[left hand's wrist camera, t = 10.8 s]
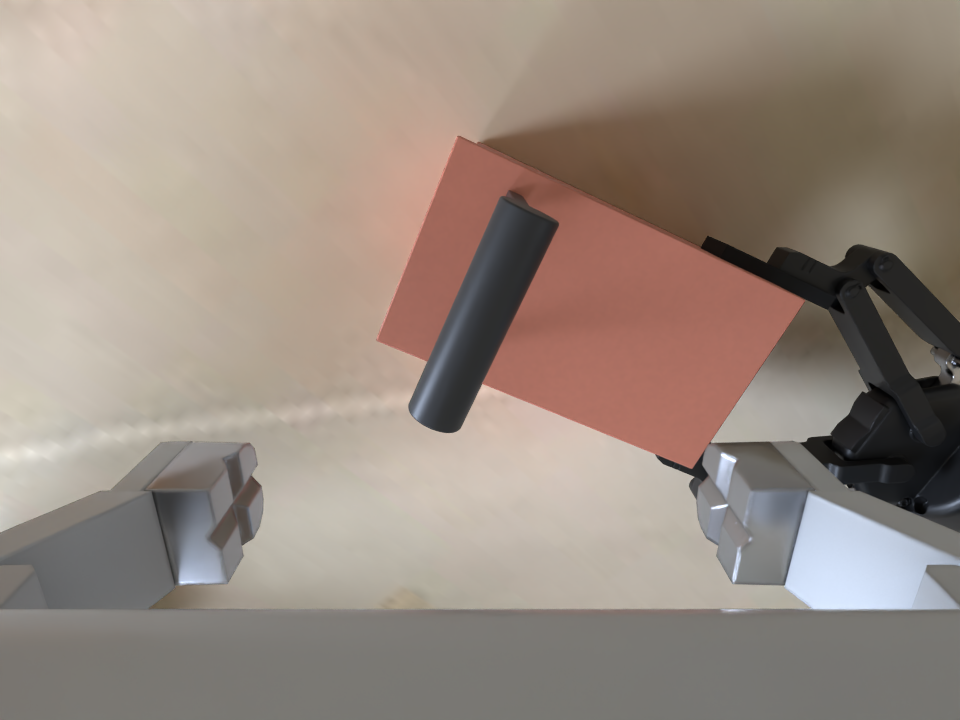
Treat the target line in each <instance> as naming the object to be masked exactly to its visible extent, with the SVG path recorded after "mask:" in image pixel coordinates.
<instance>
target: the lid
mask: <svg viewBox="0 0 960 720" xmlns="http://www.w3.org/2000/svg"><path fill="white" fill-rule="evenodd" d="M804 302H805V299H803V298H801V297H799V296H797V295H795V294H793V293H791V292H789V291H787V290H785V289H782V288H780V287H778V286H776V285H774V284H772V283H770V282H768V281H766V280H763V279H761V278H759V277H757V276H755V275H753V274H751V273H749V272H747V271H744V270H742V269H740V268H738V267H736V266H734V265H732V264H730V263H727V262H725V261H723V260H721V259H719V258H717V257H715V256H713V255H711V254H708V253H706V252H704V251H702V250H700V249H698V248H696V247H694V246H692V245H689V244H687V243H685V242H683V241H681V240H679V239H677V238H675V237H673V236H670V235H668V234H666V233H664V232H662V231H660V230H658V229H656V228H654V227H651V226H649V225H647V224H645V223H643V222H641V221H639V220H637V219H635V218H632V217H630V216H628V215H626V214H624V213H622V212H620V211H618V210H615V209H613V208H611V207H609V206H607V205H605V204H603V203H601V202H599V201H596V200H594V199H592V198H590V197H588V196H586V195H584V194H582V193H580V192H577V191H575V190H573V189H571V188H569V187H567V186H565V185H563V184H561V183H558V182H556V181H554V180H552V179H550V178H548V177H546V176H544V175H542V174H539V173H537V172H535V171H533V170H531V169H529V168H527V167H525V166H522V165H520V164H518V163H516V162H514V161H512V160H510V159H508V158H506V157H503V156H501V155H499V154H497V153H495V152H493V151H491V150H489V149H487V148H484V147H482V146H480V145H478V144H476V143H474V142H472V141H470V140H468V139H465V138H463V137H461V136H457V138H456V141H455V143H454V146H453V148H452V151H451V153H450V156H449V158H448V161H447V163H446V166H445V168H444V171H443V173H442V176H441V178H440V181H439V183H438V186H437V188H436V191H435V193H434V196H433V198H432V201H431V203H430V206H429V208H428V211H427V214H426V216H425V219H424V221H423V224H422V226H421V229H420V231H419V234H418V236H417V239H416V241H415V244H414V246H413V249H412V251H411V254H410V256H409V259H408V261H407V264H406V266H405V269H404V271H403V274H402V276H401V279H400V281H399V284H398V286H397V289H396V291H395V294H394V296H393V299H392V301H391V304H390V306H389V309H388V311H387V314H386V316H385V319H384V321H383V324H382V326H381V329H380V331H379V334H378V336H377V339H376V340H377V341H378V342H381V343H383V344H386V345H388V346H391V347H393V348H396V349H398V350H401V351H403V352H405V353H408V354H410V355H413V356H415V357H418V358H420V359H423V360H425V361H428V362H427V364H426V366H425V368H424V371H423V373H422V375H421V378H420V380H419V382H418V384H417V387H416V389H415V391H414V393H413V396H412V398H411V400H410V403H409V412H410V413H411V415H412V416H413V417H414V418H415V419H416V420H417V421H418V422H419V423H421V424H422V425H424V426H426V427H428V428H430V429H432V430H435V431H439V432H443V433H453V432H456V431H458V430H459V429H460V428H461V426H462V424H463V422H464V420H465V418H466V416H467V414H468V412H469V410H470V408H471V406H472V404H473V402H474V400H475V398H476V395H477V393H478V391H479V389H480V387H481V385H482V384H484V385H487V386H489V387H491V388H494V389H496V390H499V391H501V392H504V393H506V394H509V395H511V396H514V397H516V398H519V399H521V400H523V401H526V402H528V403H531V404H533V405H536V406H538V407H541V408H543V409H546V410H548V411H550V412H553V413H555V414H558V415H560V416H563V417H565V418H568V419H570V420H573V421H575V422H578V423H580V424H582V425H585V426H587V427H590V428H592V429H595V430H597V431H600V432H602V433H605V434H607V435H609V436H612V437H614V438H617V439H619V440H622V441H624V442H627V443H629V444H632V445H634V446H637V447H639V448H641V449H644V450H646V451H649V452H651V453H654V454H656V455H659V456H661V457H664V458H666V459H668V460H671V461H673V462H676V463H678V464H681V465H683V466H686V467H688V468H691V469H692V468H693V467H694V465H695V464H696V462H697V461H698V459H699V458H700V456H701V455H702V454H703V452H704V451H705V449H706V447H707V445H708V444H709V443H710V442H711V440H712V439H713V437H714V436H715V434H716V433H717V431H718V430H719V428H720V427H721V425H722V424H723V422H724V421H725V419H726V418H727V416H728V415H729V413H730V412H731V410H732V409H733V408H734V406H735V405H736V403H737V402H738V400H739V399H740V397H741V396H742V394H743V393H744V391H745V390H746V388H747V387H748V385H749V384H750V382H751V381H752V379H753V378H754V376H755V375H756V373H757V372H758V370H759V369H760V367H761V366H762V365H763V363H764V362H765V360H766V359H767V357H768V356H769V354H770V353H771V351H772V350H773V348H774V347H775V345H776V344H777V342H778V341H779V339H780V338H781V336H782V335H783V333H784V332H785V330H786V329H787V327H788V326H789V324H790V323H791V321H792V320H793V319H794V317H795V316H796V314H797V313H798V311H799V310H800V308H801V307H802V305H803V304H804Z"/></svg>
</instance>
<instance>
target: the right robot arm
mask: <svg viewBox="0 0 960 720" xmlns="http://www.w3.org/2000/svg"><path fill="white" fill-rule="evenodd" d="M701 249H703V250H705V251H707V252H709V253H711V254H713V255H715V256H717V257H719V258H721V259H723V260H725V261H727V262H729V263H731V264H733V265H735V266H737V267H740V268H742V269H744V270H746V271H748V272H750V273H752V274H754V275H757V276H759V277H761V278H763V279H765V280H767V281H769V282H771V283H773V284H775V285H777V286H779V287H781V288H783V289H785V290H787V291H789V292H791V293H793V294H795V295H798V296H800V297H802V298H804V299H806V300H808V301H810V302H812V303H814V304H817V305H819V306H821V307H823V308H825V309H827V310H829V312H830V314H831V316H832V318H833V319H834V321H835V323H836V325H837V327H838V329H839V330H840V332H841V334H842V336H843V338H844V340H845V341H846V343H847V345H848V347H849V349H850V351H851V352H852V354H853V356H854V358H855V360H856V362H857V363H858V365H859V367H860V370H859V373H860V375H861V377H862V379H863V381H864V383H865V384H866V386H867V388H868V390H869V392H868V393H865V392H862V393H861V394H860V395H859V397H858V398H857V399H856V401H855V402H854V404H853V406H852V409H851V411H850V413H849V415H848V416H846V417H845V418H844V419H843V420H842V421H841V422H839V423H838V424H837V426H836V427H835V428H834V430H833V431H832V432H831V435H832V436H821V437H811V438H808V439H807V441H806V442H801V443H800V444H801V445H802V446H804V447H805V448H806V449H807V450H808V451H809V452H810V453H811V454H812V455H813V456H814V457H815V458H816V459H817V460H818V461H819V462H820V463H821V464H822V465H824V466H825V467H826V468H827V469H828V470H829V471H830V472H831V473H832V474H833V475H834V476H835V477H836V478H837V479H838V480H839V481H840V482H841V483H842V484H844V485H845V484H846V485H847V487H848V489H849V490H850V491H861V492H863V493H866V494H868V495H871V496H873V497H875V498H878V499H880V500H882V501H885V502H887V503H890V504H892V505H894V506H897V507H899V508H902V509H904V510H906V511H909V512H911V513H914V514H916V515H918V516H921V517H923V518H926V519H928V520H930V521H933V522H935V523H938V524H940V525H942V526H945V527H947V528H949V529H952V530H954V531H957V532H959V533H960V323H959V321H958V320H957V319H956V318H955V317H954V316H953V315H952V314H951V313H950V312H949V311H948V310H947V309H946V308H945V307H944V306H943V305H942V304H941V303H940V301H939V300H938V299H937V298H936V297H935V296H934V295H933V294H932V293H931V292H930V291H929V290H928V289H927V288H926V287H925V286H924V285H923V284H922V283H921V282H920V280H919V279H918V278H917V277H916V276H915V275H914V274H913V273H912V272H911V271H910V270H909V269H908V268H907V267H906V266H905V265H904V264H903V263H902V262H901V260H900V259H899V258H898V257H897V256H896V255H894V254H892V253H889V252H886V251H882V250H879V249H875V248H872V247H868V246H865V245H859V244H858V245H854V246H852V247H851V248H849V250H848V251H847V252H846V255H845V259H844V260H843V261H841V262H840V263H839V264H837V265H835V266H830V267H829V266H827V265H825V264H823V263H821V262H819V261H817V260H815V259H813V258H811V257H809V256H807V255H805V254H802V253H800V252H798V251H795V250H792V249H789V248H784V247H777V248H776V249H775V251H774V252H773V254H772V256H771V257H770V259H769V260H768V262H767V263H765V262H763V261H761V260H759V259H757V258H755V257H753V256H751V255H749V254H746V253H744V252H742V251H740V250H738V249H736V248H734V247H732V246H730V245H728V244H725V243H723V242H721V241H719V240H716V239H714V238H712V237H710V236H707V238H706V239H705V241H704V243H703V244H702V246H701ZM866 286H869V287H870V288H871V289H872V290H873V291H874V292H875V293H876V294H877V295H878V296H879V297H880V298H881V299H882V300H883V301H884V302H885V303H886V304H887V305H888V306H889V307H890V308H891V309H892V310H893V311H894V312H895V313H896V314H897V315H898V316H899V317H900V318H901V319H902V320H903V321H904V322H905V323H906V324H907V325H908V326H909V327H910V328H911V329H912V330H913V331H914V332H915V333H916V334H917V335H918V336H919V337H920V338H921V339H923V340H924V341H926V342H927V343H929V344H931V345H934V347H933V348H932V349H931V354H932V355H934V360H935V362H936V363H938V364H939V365H940V367H941V373H940V375H939V376H931V377H926V378H920V379H914V378H913V377H912V376H911V375H910V374H909V372H908V370H907V368H906V366H905V364H904V362H903V360H902V358H901V356H900V355H899V353H898V351H897V349H896V347H895V345H894V343H893V341H892V339H891V337H890V335H889V333H888V331H887V329H886V327H885V325H884V323H883V321H882V320H881V318H880V316H879V314H878V312H877V310H876V308H875V306H874V304H873V302H872V300H871V298H870V296H869V294H868V292H867V290H866V288H865V287H866ZM709 444H711V442H710V443H709ZM705 450H706V449H705ZM704 452H705V451H704ZM704 452H703V454H702V455H701V456H700V458H699V459H698V461H697V462H696V464H695V465H694V467H693V468H692V469H691V468H688V467H686V466H683V465H681V464H678V463H676V462H673V461H671V460H668V459H666V458H664V457H661V456H659V455H656V454H655V455H656V457H657V458H658V459H659V460H660V461H661V462H662V463H663V464H665V465H667V466H669V467H672V468H674V469H678V470H679V471H682V472H684V473H687V474H689V475H692V476H694V477H695V478H693V479H692V480H691V482H690V483H689V487H690V490H691V491H692V493H693V495H694V496H695V498H696V500H697V494H698V486H699V485H700V484H701V483H702V482H703V481H704V480H705V479H706V478H707V477H708V476H709V475H708V473H707V471H706V470H705V468H704V467H703V465H702V462H703V457H704Z"/></svg>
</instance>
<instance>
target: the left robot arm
mask: <svg viewBox="0 0 960 720" xmlns="http://www.w3.org/2000/svg"><path fill="white" fill-rule="evenodd" d="M257 465H258V463H257V458H256V453H255V448H254V447H253V446H252V445H251V444H250V443H240V442H192V441H175V442H162V443H160V444H159V445H158V446H157V447H156V448H155V449H153V450H152V451H151V452H150V453H149V454H148V455H147V456H146V457H145V458H144V459H143V460H142V461H141V462H140V463H139V464H138V465H137V466H136V467H134V468H133V469H132V470H131V471H130V472H129V473H128V474H127V475H126V476H125V477H124V478H123V479H122V480H121V481H120V482H119V483H118V484H117V485H115V486H114V487H113V488H112V489H111V490H110V491H99V492H97V493H94V494H92V495H89V496H87V497H85V498H82V499H80V500H77V501H75V502H73V503H70V504H68V505H65V506H63V507H61V508H58V509H56V510H53V511H51V512H49V513H46V514H44V515H41V516H39V517H37V518H34V519H32V520H29V521H27V522H25V523H22V524H20V525H17V526H15V527H13V528H10V529H8V530H5V531H3V532H1V533H0V720H960V533H959V532H957V531H954V530H952V529H949V528H947V527H945V526H942V525H940V524H938V523H935V522H933V521H930V520H928V519H926V518H923V517H921V516H918V515H916V514H914V513H911V512H909V511H906V510H904V509H902V508H899V507H897V506H894V505H892V504H890V503H887V502H885V501H882V500H880V499H878V498H875V497H873V496H871V495H868V494H866V493H863V492H861V491H850V490H849V489H848V488H847V487H846V486H845V485H844V484H842V483H841V482H840V481H839V480H838V479H837V478H836V477H835V476H834V475H833V474H832V473H831V472H830V471H829V470H828V469H827V468H826V467H825V466H824V465H822V464H821V463H820V462H819V461H818V460H817V459H816V458H815V457H814V456H813V455H812V454H811V453H810V452H809V451H808V450H807V449H806V448H805V447H804V446H802V445H801V444H800V443H798V442H794V441H780V442H735V443H711V444H708V445H707V447H706V450H705V452H704V457H703V462H702V465H703V467H704V468H705V470H706V471H707V473H708V475H709V476H708V477H707V478H706V479H705V480H704V481H703V482H702V483H701V484H700V485H699V486H698V494H697V502H696V503H697V514H698V520H699V523H700V526H701V529H702V531H703V533H704V535H705V536H706V538H707V539H708V540H710V541H712V542H713V543H715V544H716V545H718V550H717V558H718V560H719V561H720V563H721V565H722V567H723V568H724V570H725V572H726V574H727V575H728V577H729V579H730V581H731V582H732V584H750V585H785V587H784V588H786V589H787V590H788V591H789V592H791V593H792V594H793V595H795V596H796V597H797V598H799V599H800V600H801V601H803V602H804V603H805V604H807V605H808V606H809V607H811V608H812V609H148V608H150V607H151V606H152V605H154V604H155V603H156V602H158V601H159V600H160V599H162V598H163V597H164V596H165V595H167V594H168V593H169V592H171V591H172V590H173V589H175V585H209V584H228V582H229V581H230V579H231V577H232V575H233V574H234V572H235V570H236V568H237V567H238V565H239V563H240V561H241V560H242V558H243V556H244V555H243V550H242V545H244V544H245V543H247V542H248V541H250V540H252V539H253V538H254V536H255V535H256V533H257V531H258V529H259V527H260V523H261V518H262V514H263V493H262V486H261V485H260V484H259V483H258V482H257V481H256V480H255V479H254V478H253V477H252V476H251V475H252V473H253V471H254V470H255V468H256V467H257Z"/></svg>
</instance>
